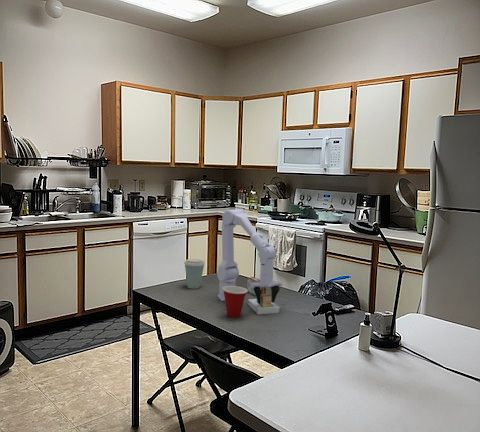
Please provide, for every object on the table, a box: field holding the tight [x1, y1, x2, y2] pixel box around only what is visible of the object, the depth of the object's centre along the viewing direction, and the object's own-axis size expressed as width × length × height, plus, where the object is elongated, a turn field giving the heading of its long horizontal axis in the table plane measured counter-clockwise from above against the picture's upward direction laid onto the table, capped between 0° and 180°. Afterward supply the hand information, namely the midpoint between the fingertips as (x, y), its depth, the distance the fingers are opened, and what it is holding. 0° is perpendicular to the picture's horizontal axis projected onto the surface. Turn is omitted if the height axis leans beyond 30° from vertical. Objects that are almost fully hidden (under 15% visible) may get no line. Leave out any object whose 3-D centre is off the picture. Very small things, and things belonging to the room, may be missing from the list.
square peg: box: [260, 293, 272, 307], centre depth 196 cm, size 4×4×7 cm
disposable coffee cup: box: [184, 258, 205, 290], centre depth 230 cm, size 11×11×15 cm
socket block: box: [247, 298, 280, 315], centre depth 199 cm, size 14×10×2 cm
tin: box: [246, 276, 267, 297], centre depth 220 cm, size 15×3×8 cm, turn 30°
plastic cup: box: [223, 285, 249, 319], centre depth 188 cm, size 11×11×12 cm
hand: (265, 302), depth 196 cm, fingers open, 6 cm apart
